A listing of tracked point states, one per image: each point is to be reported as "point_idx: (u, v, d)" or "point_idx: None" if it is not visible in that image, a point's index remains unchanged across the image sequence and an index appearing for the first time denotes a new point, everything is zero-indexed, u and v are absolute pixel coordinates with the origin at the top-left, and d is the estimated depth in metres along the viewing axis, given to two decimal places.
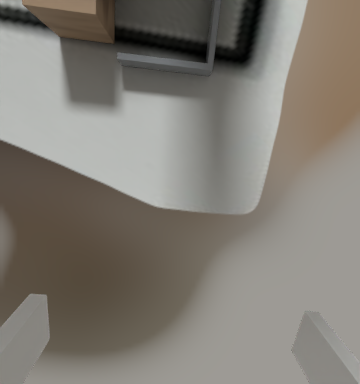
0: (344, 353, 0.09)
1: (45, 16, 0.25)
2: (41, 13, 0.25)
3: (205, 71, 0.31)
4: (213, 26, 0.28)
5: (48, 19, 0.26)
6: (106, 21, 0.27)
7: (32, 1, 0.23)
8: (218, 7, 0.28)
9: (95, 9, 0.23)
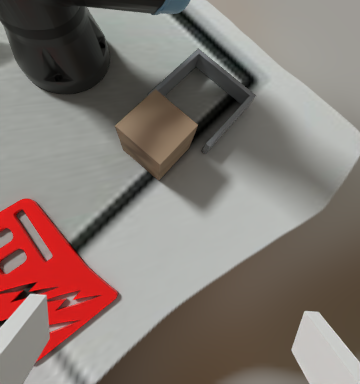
0: (344, 353, 0.09)
1: (165, 163, 0.30)
2: (165, 162, 0.29)
3: (250, 101, 0.38)
4: (231, 78, 0.37)
5: (165, 165, 0.30)
6: None
7: (163, 156, 0.27)
8: (222, 69, 0.37)
9: None
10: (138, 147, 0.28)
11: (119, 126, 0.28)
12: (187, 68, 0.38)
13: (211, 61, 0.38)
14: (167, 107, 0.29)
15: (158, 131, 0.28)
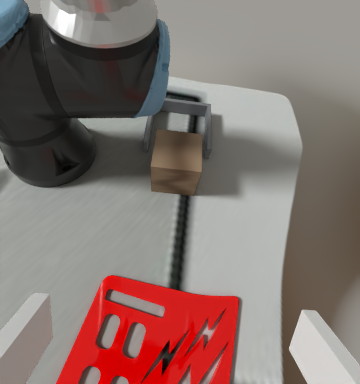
0: (341, 351, 0.09)
1: None
2: None
3: None
4: (187, 102, 0.47)
5: None
6: None
7: (199, 166, 0.33)
8: (178, 100, 0.47)
9: (199, 134, 0.36)
10: (177, 171, 0.33)
11: (154, 165, 0.32)
12: None
13: (166, 99, 0.47)
14: (174, 135, 0.36)
15: (182, 152, 0.34)
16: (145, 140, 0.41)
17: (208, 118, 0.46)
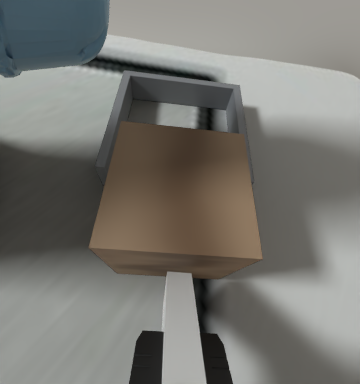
0: (188, 299, 0.11)
1: None
2: None
3: None
4: (195, 82, 0.24)
5: None
6: None
7: (251, 235, 0.10)
8: (176, 78, 0.24)
9: (236, 133, 0.14)
10: (180, 256, 0.10)
11: (101, 241, 0.09)
12: (126, 102, 0.23)
13: (154, 76, 0.24)
14: (170, 138, 0.13)
15: (193, 189, 0.11)
16: (101, 164, 0.17)
17: (238, 112, 0.22)
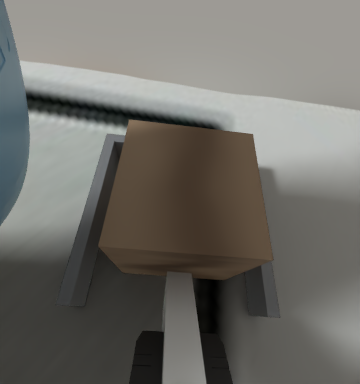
0: (188, 299, 0.11)
1: None
2: None
3: None
4: None
5: None
6: None
7: (261, 236, 0.10)
8: None
9: (244, 133, 0.14)
10: (189, 256, 0.10)
11: (111, 239, 0.09)
12: (109, 176, 0.18)
13: None
14: (179, 137, 0.13)
15: (202, 189, 0.11)
16: (64, 300, 0.12)
17: None
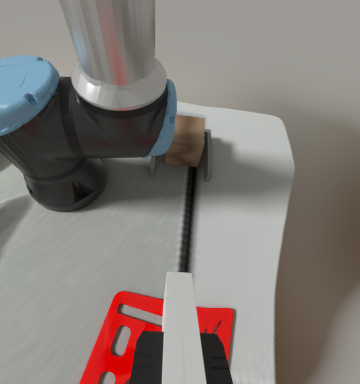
0: (188, 299, 0.11)
1: None
2: None
3: None
4: None
5: None
6: None
7: (202, 140, 0.44)
8: None
9: (202, 118, 0.47)
10: (185, 144, 0.43)
11: None
12: None
13: None
14: (183, 118, 0.46)
15: (189, 131, 0.45)
16: (152, 167, 0.45)
17: (208, 144, 0.50)
